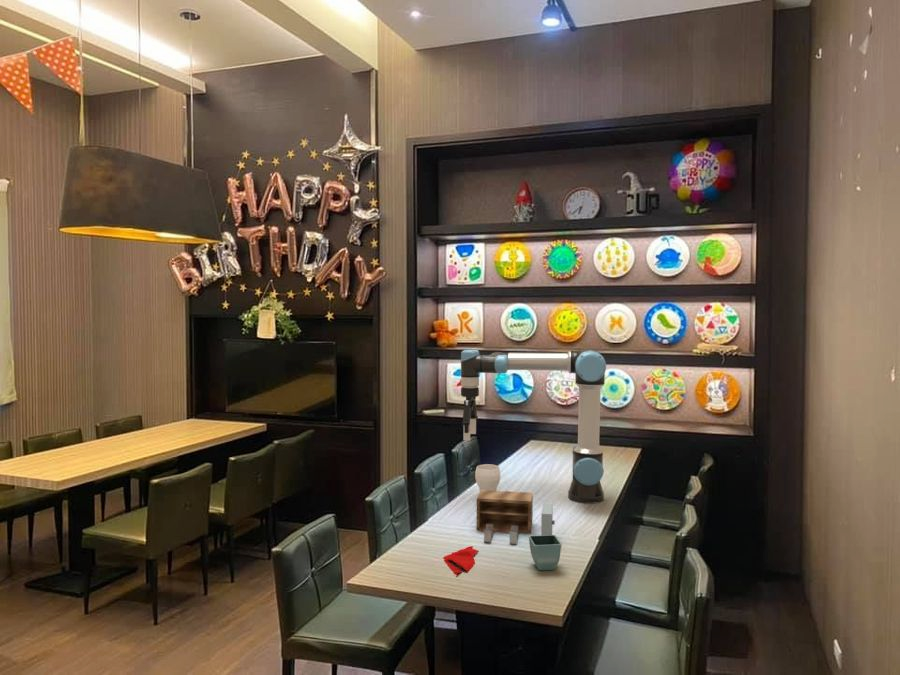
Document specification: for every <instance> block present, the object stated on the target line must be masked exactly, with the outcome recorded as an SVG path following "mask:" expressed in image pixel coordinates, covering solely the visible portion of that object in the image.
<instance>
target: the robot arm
mask: <svg viewBox="0 0 900 675" xmlns="http://www.w3.org/2000/svg"><path fill="white" fill-rule="evenodd" d="M460 355H461V356H460V377H461V378H459V381H460V386H461V388H460V396H461V397H463V398H465V400H463V414H462V422H461V426H463V428H462V429H463V435H462V436H463V439H462V440H463V441H471V435H476V434H477V419H478V418H479V416H478V413H477V412H478V411H477V402H476V401H477V400H476V398H478V397H479V396H480V389H479V386H480V374H483V373H484V374H498V375H499V374H506V373H507V372H508V371H551V372H552V371H553V372H554V371H557V372H558V371H559V372H561V371H562V372H563V371H564V372H566V371H567V373H569V374H575V377H574V378H575V380H574V381H575V382H574V384H575V385H576V386H577V387H578V413H577V414H578V417H577V420H578V422H577V424H578V425H577V444H575V445H573V447H572V451H571V452H572V480H571V483H570V486H569V487H568V488H569V489H568V491H567V492H568V493H567V497H568V499H569V500H571V501H573V502H575V503H581V504H582V503H583V504H598V503H601V502H603V501H604V500H605V493H604V490H603V486H602V484H601V480H602V478H603V476H604V473H605V472H604V467H603V464H604V463H603V459H604V451H603V449H602V448H601V447H600V433H601V432H600V429H601V389H602V388H603V387H604V386H605V383H606V382H605V381H606V380H605V378H606V377H605V376H606V371H607V362H606V360H605V357H604V356H603V355H602V354H601V353H600V352H598V351H597V350H595V349H590V348H588V349H587V348H586V349H581V350H569V351H567V352H500V351H494V352H492V353H491V354H480V351H479V350H478V349H464V350H463V349H462V351H461V354H460Z"/></svg>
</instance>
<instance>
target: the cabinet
mask: <svg viewBox="0 0 900 675" xmlns="http://www.w3.org/2000/svg"><path fill="white" fill-rule="evenodd" d="M533 496H534V495H533V492H526V491H508V490H505V491H504V490H496V491H491V490H480V491H479V492H478V494H477V497H476V531H479V532H480V531H483V532H484V529H486V524H493V530H495V532H497V533H499V532H501V533H510V531H511V525H515V526H518V532H519V534H532V528H533V516H534V515H533V510H534V509H533V507H534V506H533V503H534V498H533Z"/></svg>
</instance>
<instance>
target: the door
mask: <svg viewBox="0 0 900 675" xmlns="http://www.w3.org/2000/svg"><path fill="white" fill-rule="evenodd" d="M553 509H554V505H553V502H544V501H543V502H542V506H541V517H540V519H541V521H540V522H541V527H540V528H541V531H540V532H541V534H540V535H553V526H554V525H555V523H556V522H555V520H553Z"/></svg>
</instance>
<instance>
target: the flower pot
mask: <svg viewBox="0 0 900 675" xmlns="http://www.w3.org/2000/svg"><path fill="white" fill-rule="evenodd" d="M528 542H529V550H530V554H531V557H532V560H533V563H534V564H535V567H536V568H537V570H538V571H553V570H555V569H556V568H557V566H558V564H559V562H560V558H561V552H562V551H561V550H562V543H561V541H560V540H559V539H558V538H557V535H555V534H552V535H541V534H540V535H529V536H528Z"/></svg>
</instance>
